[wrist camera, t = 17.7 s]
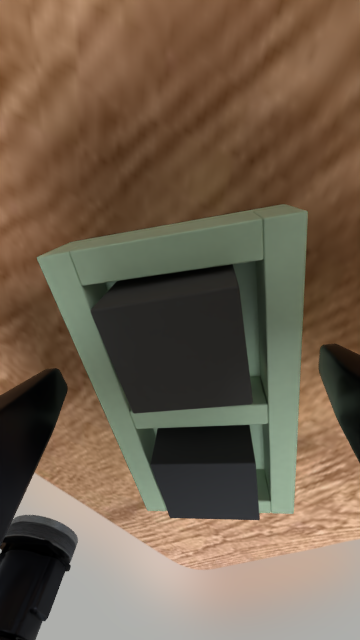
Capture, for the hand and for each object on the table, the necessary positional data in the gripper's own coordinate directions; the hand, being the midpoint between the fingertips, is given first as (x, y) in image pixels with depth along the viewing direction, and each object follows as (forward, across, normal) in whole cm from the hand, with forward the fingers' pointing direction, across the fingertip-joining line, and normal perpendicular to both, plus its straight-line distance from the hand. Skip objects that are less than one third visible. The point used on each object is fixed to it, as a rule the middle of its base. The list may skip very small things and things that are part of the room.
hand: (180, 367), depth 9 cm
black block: (+3, 0, 0) cm, 3 cm away
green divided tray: (+3, 0, +4) cm, 5 cm away
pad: (+3, 0, +7) cm, 8 cm away
